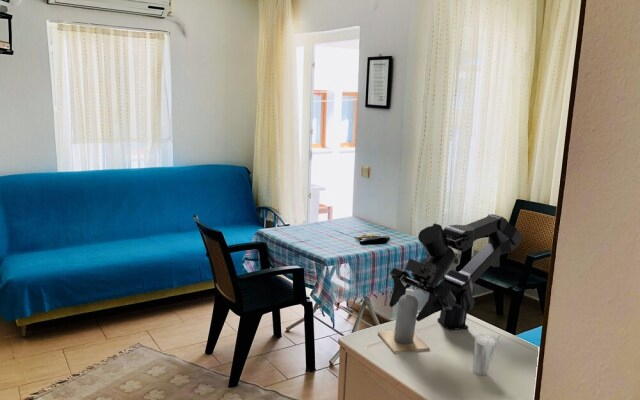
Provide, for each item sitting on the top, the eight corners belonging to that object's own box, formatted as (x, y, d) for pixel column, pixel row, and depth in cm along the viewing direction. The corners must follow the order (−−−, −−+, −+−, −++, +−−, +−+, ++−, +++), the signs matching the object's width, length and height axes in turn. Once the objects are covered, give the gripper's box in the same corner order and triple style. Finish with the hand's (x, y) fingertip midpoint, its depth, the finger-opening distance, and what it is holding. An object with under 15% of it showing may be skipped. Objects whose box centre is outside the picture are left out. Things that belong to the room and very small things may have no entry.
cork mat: (411, 331, 137) (411, 329, 137) (429, 350, 128) (429, 348, 128) (377, 334, 134) (377, 332, 134) (394, 353, 125) (394, 350, 124)
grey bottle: (412, 336, 133) (419, 287, 130) (413, 345, 128) (420, 294, 125) (394, 333, 133) (400, 285, 131) (393, 342, 129) (400, 291, 126)
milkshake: (494, 379, 117) (501, 339, 115) (470, 375, 118) (477, 335, 116) (492, 369, 121) (498, 331, 119) (469, 365, 122) (475, 327, 120)
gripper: (398, 238, 135) (364, 283, 131) (455, 259, 121) (419, 311, 116) (414, 261, 142) (382, 305, 137) (470, 284, 127) (436, 334, 123)
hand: (403, 313), depth 128 cm, fingers open, 9 cm apart
